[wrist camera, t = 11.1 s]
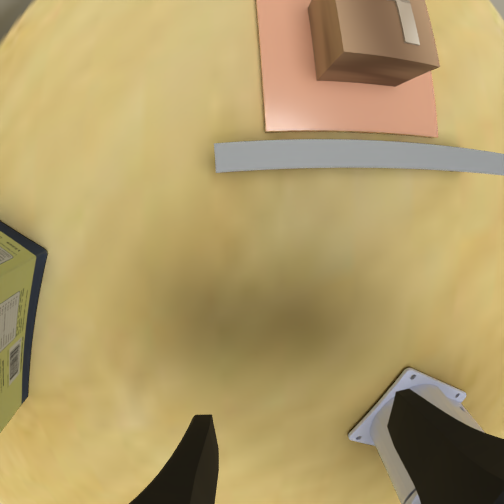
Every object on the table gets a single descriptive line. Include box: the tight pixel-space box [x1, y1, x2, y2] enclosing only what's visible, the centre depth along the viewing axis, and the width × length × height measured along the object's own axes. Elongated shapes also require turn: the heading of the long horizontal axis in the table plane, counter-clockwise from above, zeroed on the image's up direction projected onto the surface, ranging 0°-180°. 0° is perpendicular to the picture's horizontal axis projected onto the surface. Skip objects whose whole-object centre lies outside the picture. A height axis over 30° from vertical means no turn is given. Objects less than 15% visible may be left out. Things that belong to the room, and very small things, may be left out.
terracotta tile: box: [256, 0, 438, 138], centre depth 16 cm, size 11×11×1 cm
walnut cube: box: [308, 0, 440, 87], centre depth 13 cm, size 5×5×5 cm
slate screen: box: [214, 139, 504, 175], centre depth 15 cm, size 16×1×5 cm, turn 93°
